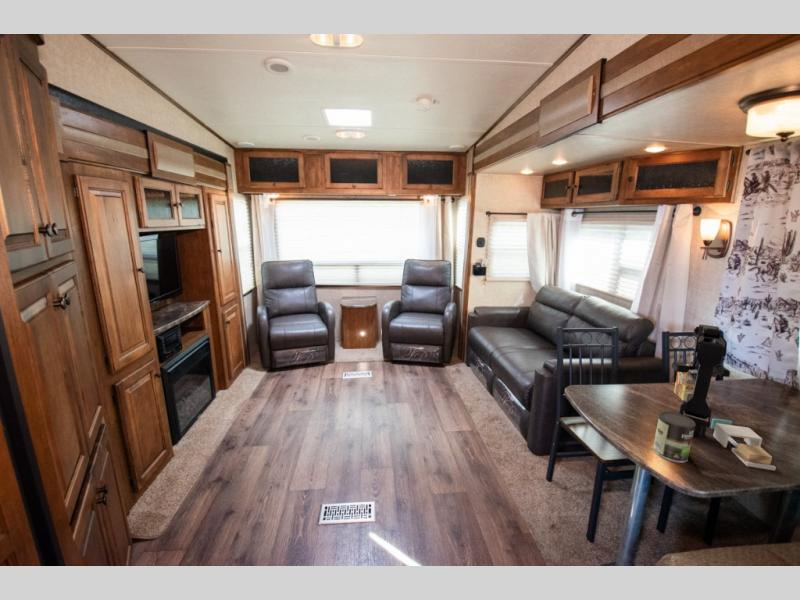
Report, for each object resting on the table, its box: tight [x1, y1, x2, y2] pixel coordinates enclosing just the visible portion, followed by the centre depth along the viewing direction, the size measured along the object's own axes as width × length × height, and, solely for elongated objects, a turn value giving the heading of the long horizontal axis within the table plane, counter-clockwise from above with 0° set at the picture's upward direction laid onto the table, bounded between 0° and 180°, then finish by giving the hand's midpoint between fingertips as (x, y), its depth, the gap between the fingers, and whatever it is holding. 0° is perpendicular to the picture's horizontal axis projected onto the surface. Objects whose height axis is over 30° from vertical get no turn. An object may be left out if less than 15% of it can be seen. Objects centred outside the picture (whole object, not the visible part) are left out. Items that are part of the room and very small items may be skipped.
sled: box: [709, 417, 777, 471], centre depth 125 cm, size 8×24×5 cm, turn 163°
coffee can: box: [652, 410, 696, 464], centre depth 122 cm, size 10×10×14 cm
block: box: [736, 443, 773, 465], centre depth 118 cm, size 6×6×4 cm
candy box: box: [673, 363, 694, 402], centre depth 163 cm, size 9×4×15 cm, turn 165°
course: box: [712, 423, 763, 448], centre depth 127 cm, size 10×24×7 cm, turn 163°
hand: (696, 387), depth 149 cm, fingers closed
